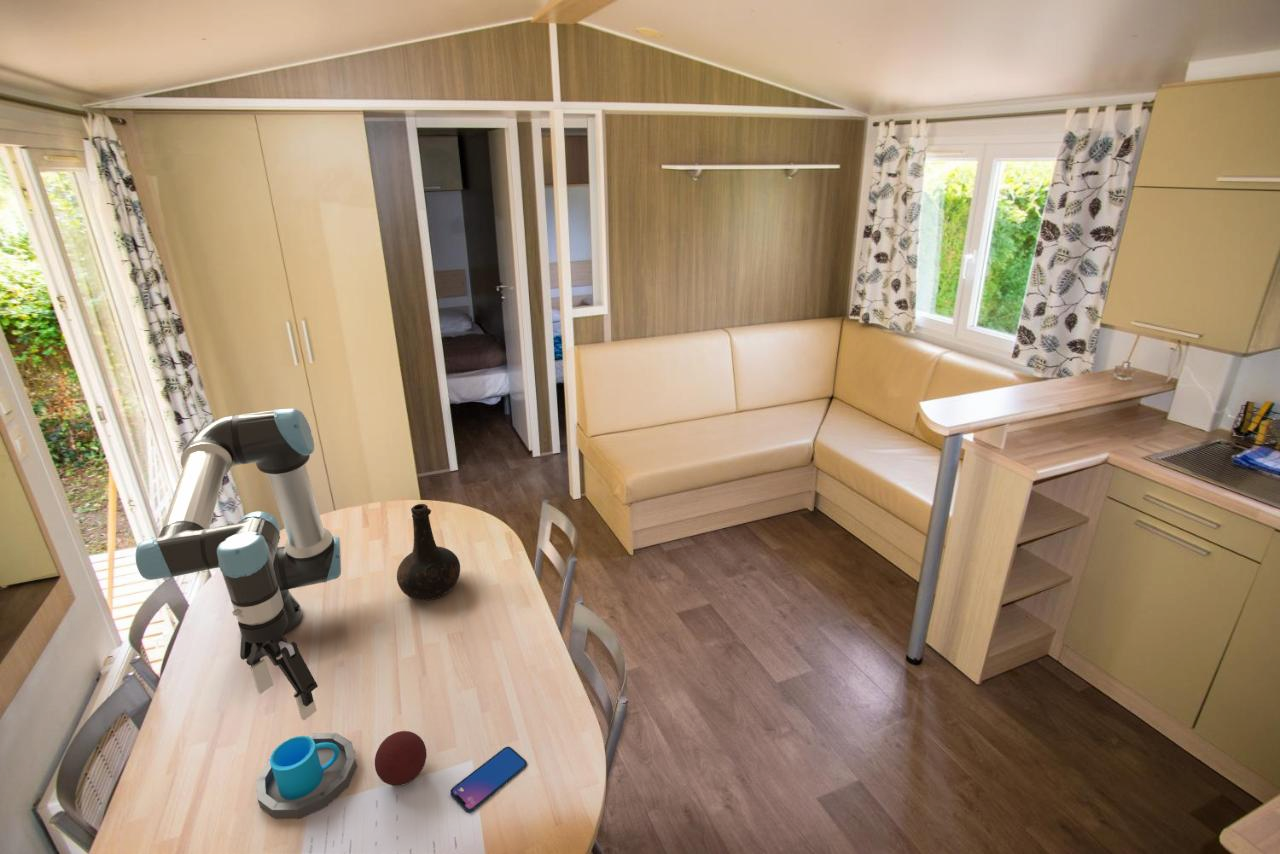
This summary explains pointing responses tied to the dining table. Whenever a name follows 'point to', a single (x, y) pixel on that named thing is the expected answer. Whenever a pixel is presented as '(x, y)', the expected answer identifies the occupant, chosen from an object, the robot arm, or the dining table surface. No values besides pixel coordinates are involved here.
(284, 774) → the mug
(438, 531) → the dining table surface
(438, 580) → the glass bottle
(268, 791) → the holder ring
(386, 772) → the decorative ball
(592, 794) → the dining table surface
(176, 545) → the robot arm
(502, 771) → the smartphone
